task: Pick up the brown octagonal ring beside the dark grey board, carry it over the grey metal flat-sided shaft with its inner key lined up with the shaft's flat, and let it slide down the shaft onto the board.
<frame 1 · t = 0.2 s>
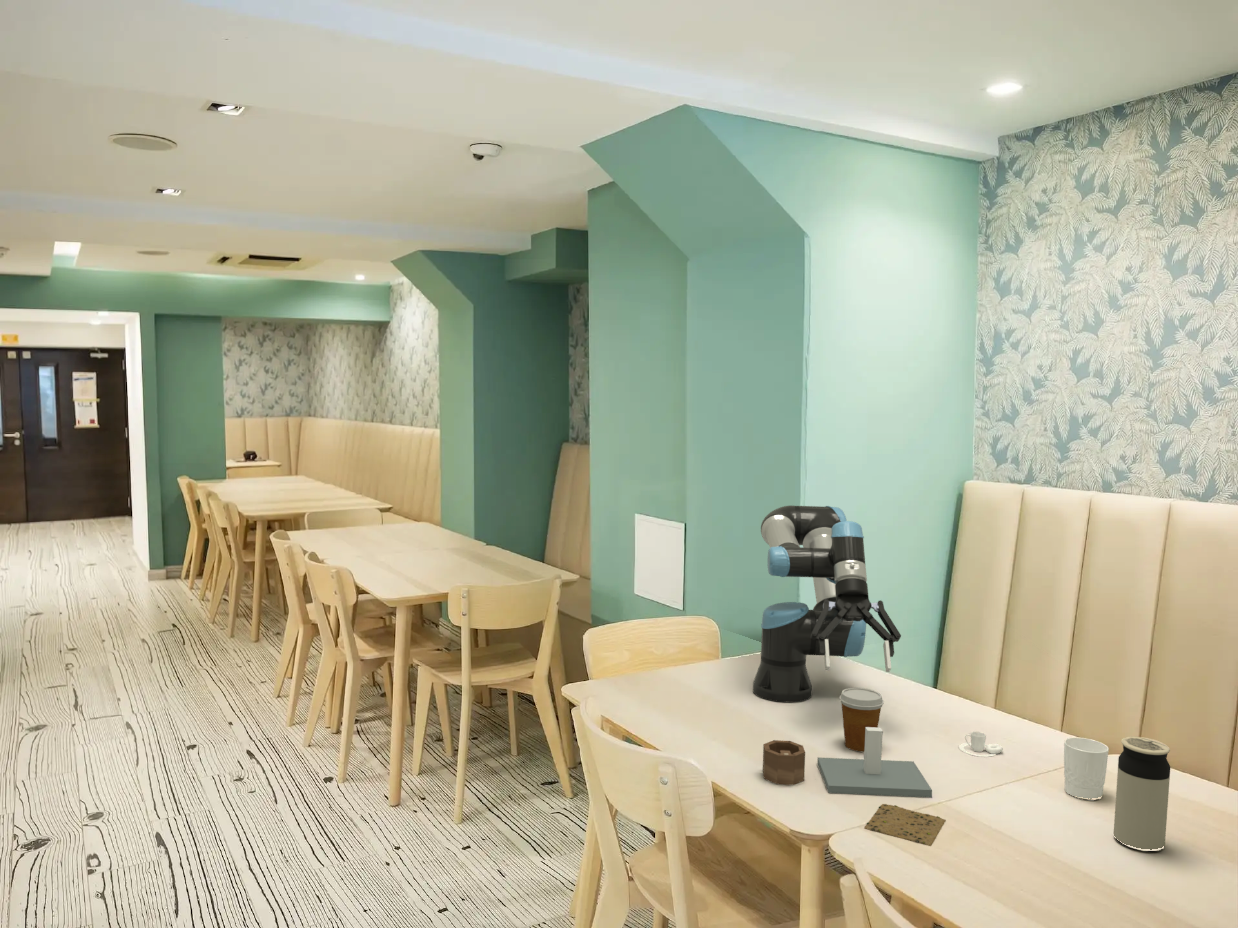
hand: (858, 669, 211), 16 cm above the table, tool tilted 35°, fingers open, 13 cm apart
brown octagonal ring: (783, 776, 190), on the table
speckled square slab: (905, 827, 170), on the table
white cup: (1083, 794, 185), on the table
disposable coffee cup: (859, 747, 207), on the table
teacup and saucer: (986, 758, 204), on the table
travel mug: (1138, 843, 165), on the table
shaft board: (872, 780, 189), on the table
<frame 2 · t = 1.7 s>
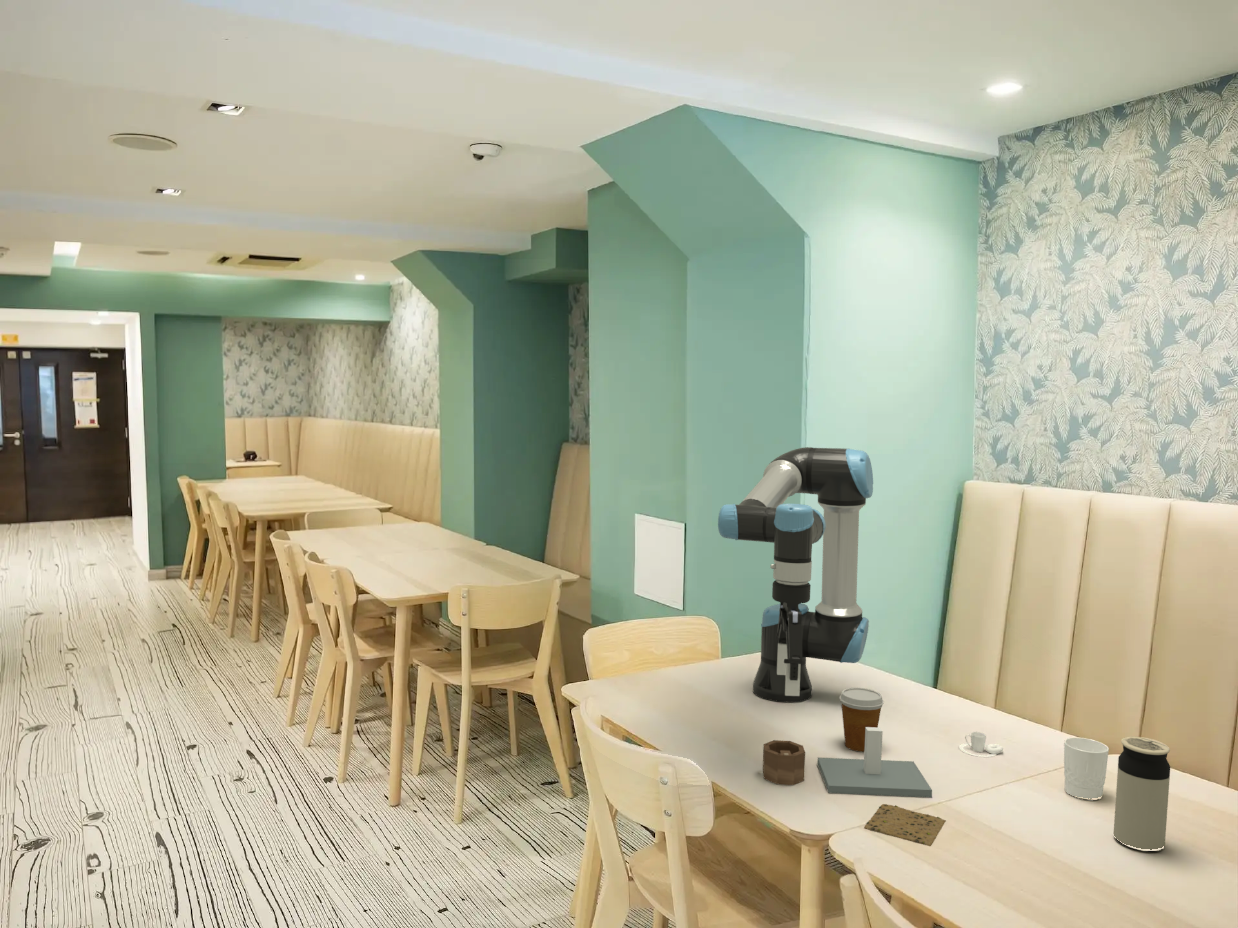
hand: (787, 684, 189), 19 cm above the table, tool pointing down, fingers open, 13 cm apart
nothing on the table moved.
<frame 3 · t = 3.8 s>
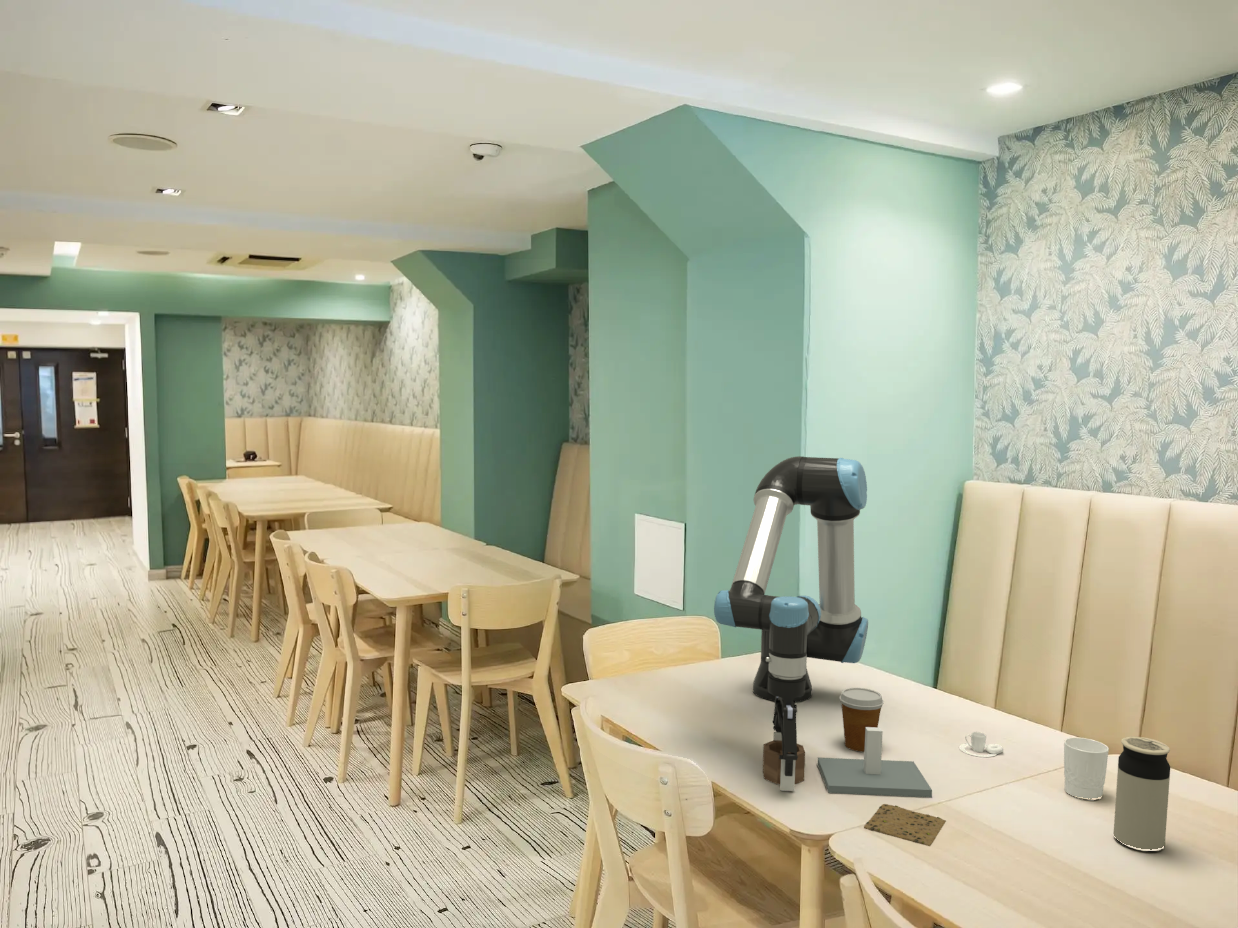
hand: (783, 776, 190), 0 cm above the table, tool pointing down, fingers open, 13 cm apart
nothing on the table moved.
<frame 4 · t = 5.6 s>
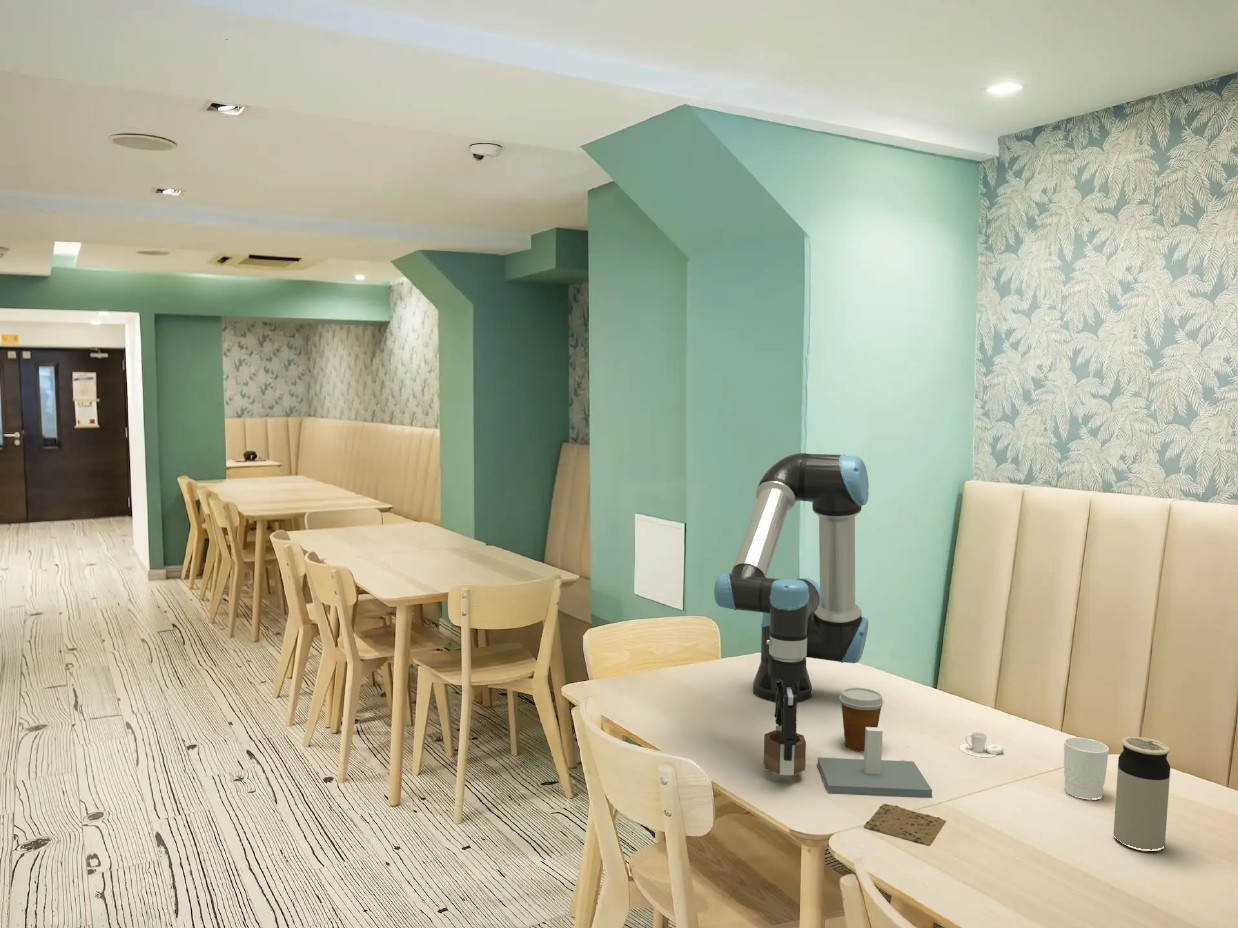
hand: (783, 764, 190), 2 cm above the table, tool pointing down, fingers closed on brown octagonal ring, 8 cm apart
brown octagonal ring: (784, 766, 190), point 2 cm above the table, touching gripper
everything else where it was.
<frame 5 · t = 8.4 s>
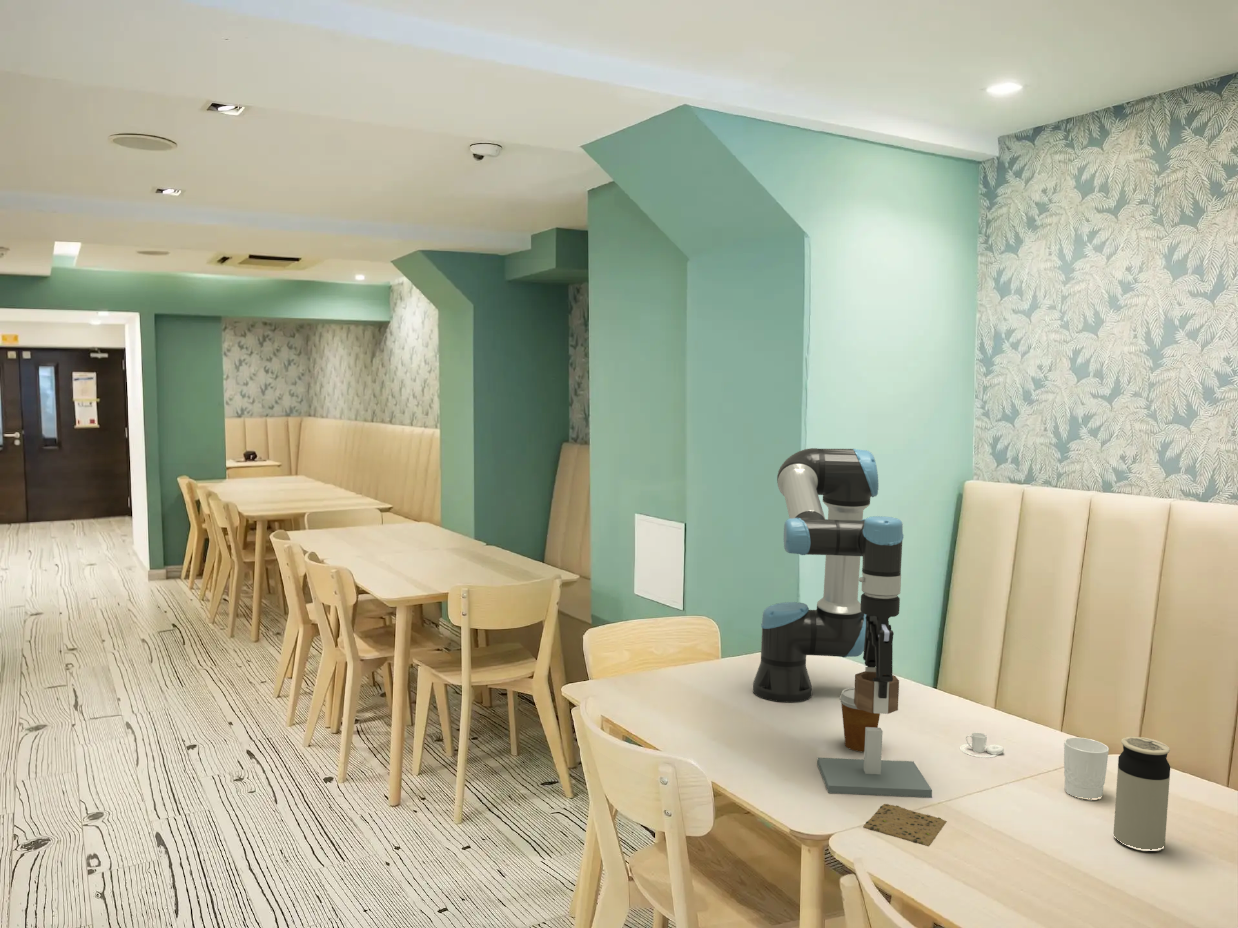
hand: (875, 705, 188), 16 cm above the table, tool pointing down, fingers closed on brown octagonal ring, 8 cm apart
brown octagonal ring: (875, 706, 188), point 15 cm above the table, touching gripper
everything else where it was.
when the fingers open (4 cm above the table, at t = 11.2 s): brown octagonal ring drops 2 cm, resting on shaft board.
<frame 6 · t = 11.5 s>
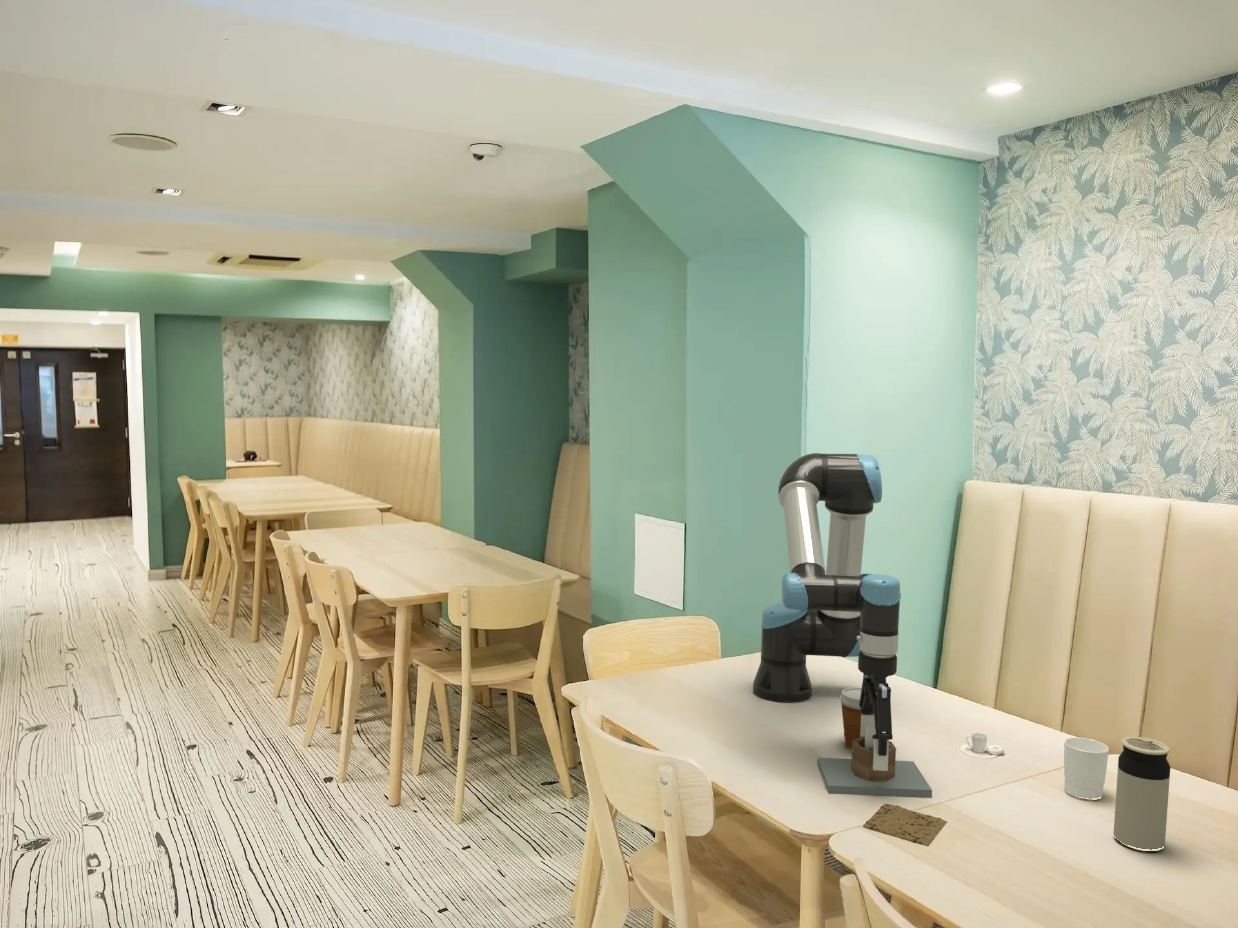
hand: (873, 757, 189), 5 cm above the table, tool pointing down, fingers open, 12 cm apart
brown octagonal ring: (872, 772, 189), point 1 cm above the table, touching shaft board
everything else where it was.
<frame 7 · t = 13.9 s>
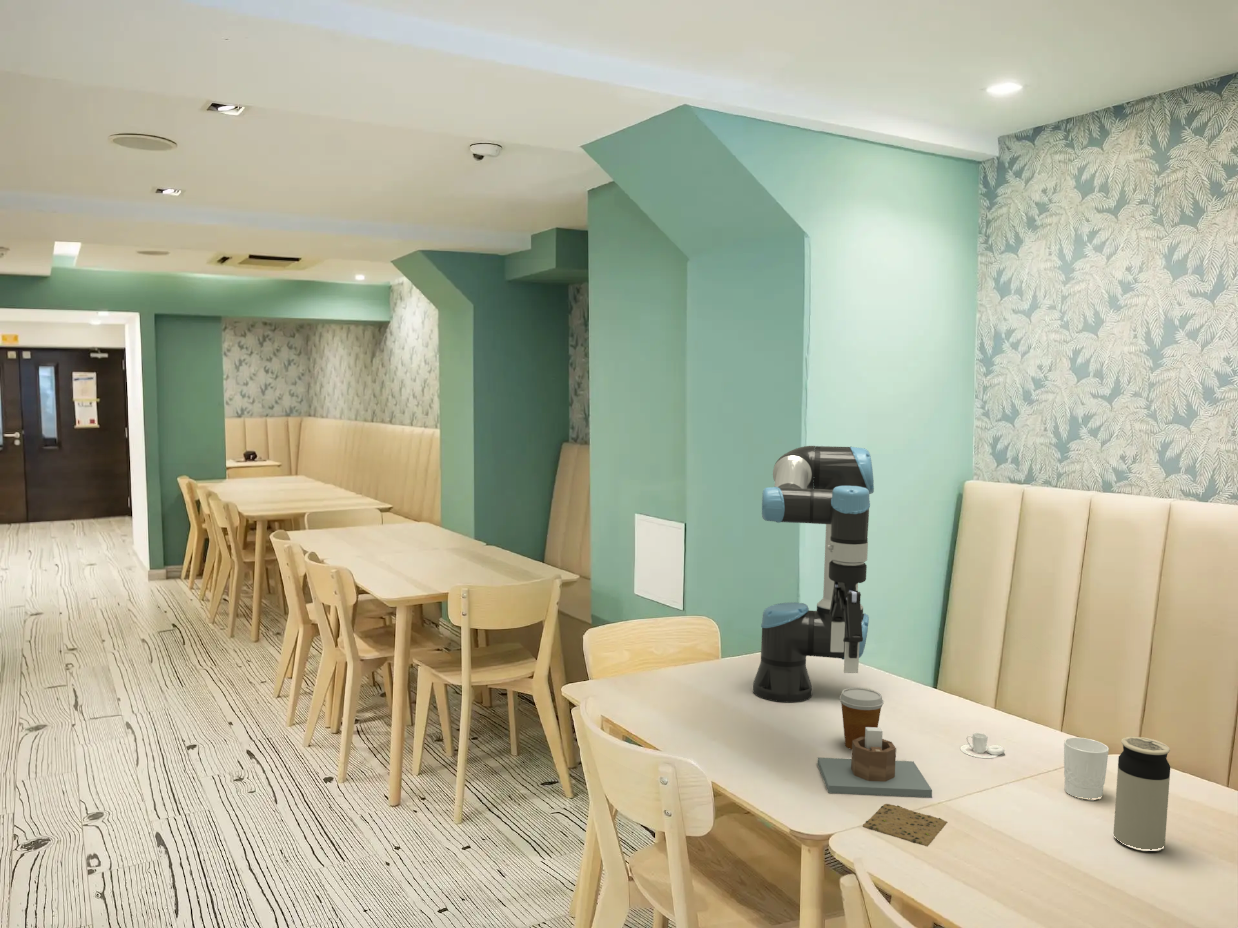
hand: (843, 661, 194), 23 cm above the table, tool pointing down, fingers open, 13 cm apart
nothing on the table moved.
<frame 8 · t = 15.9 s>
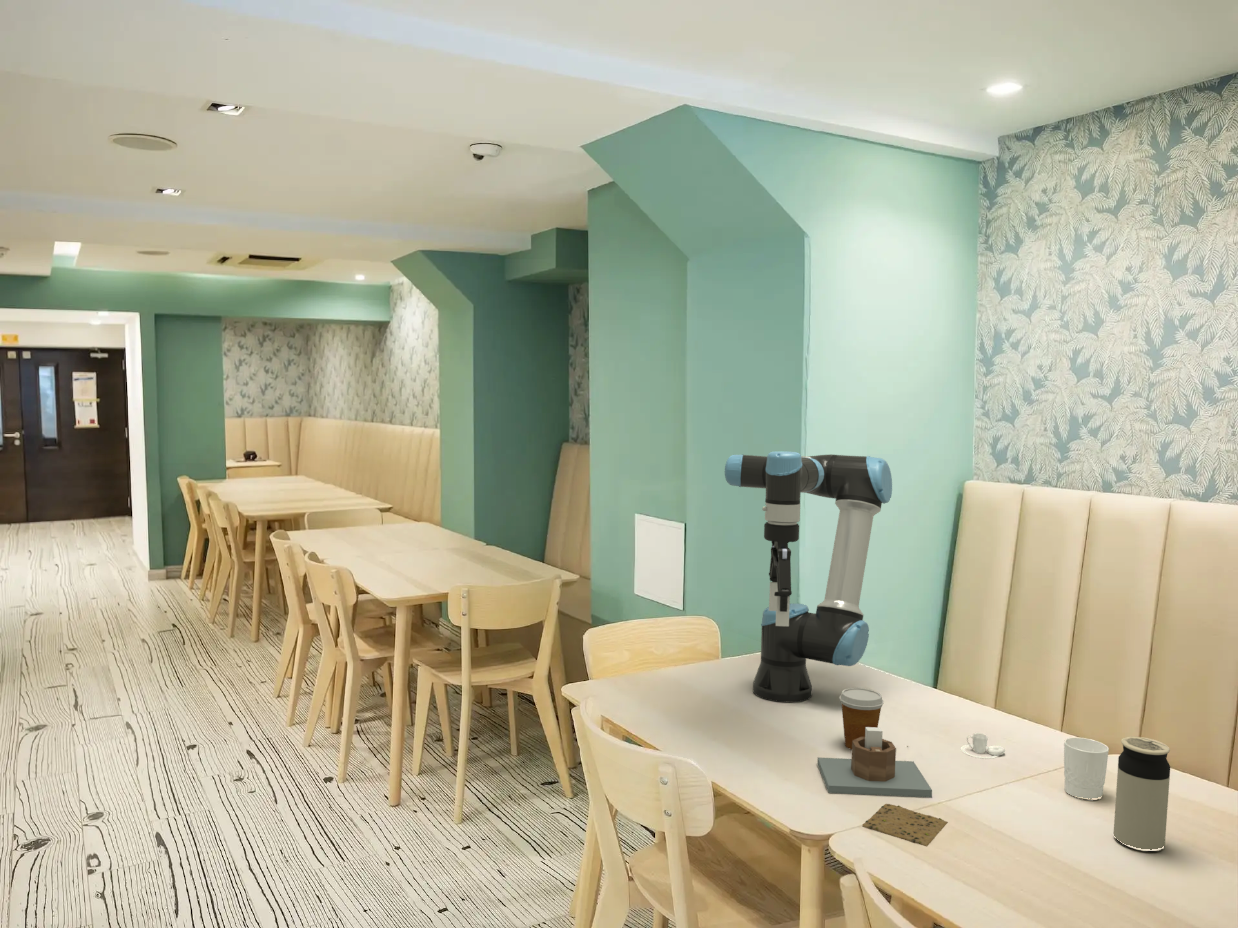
hand: (778, 618, 205), 29 cm above the table, tool pointing down, fingers open, 13 cm apart
nothing on the table moved.
at the end: brown octagonal ring 0.1 cm from the shaft board (horizontally); brown octagonal ring point 1.5 cm above the table; brown octagonal ring tilted 0° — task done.
